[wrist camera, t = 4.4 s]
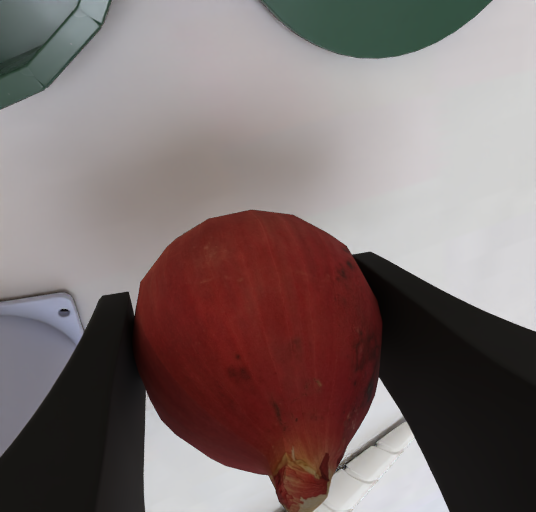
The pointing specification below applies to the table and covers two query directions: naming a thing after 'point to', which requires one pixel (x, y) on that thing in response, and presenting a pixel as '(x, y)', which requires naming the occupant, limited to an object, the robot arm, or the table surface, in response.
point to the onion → (261, 348)
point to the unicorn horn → (365, 471)
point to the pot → (42, 41)
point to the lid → (374, 23)
